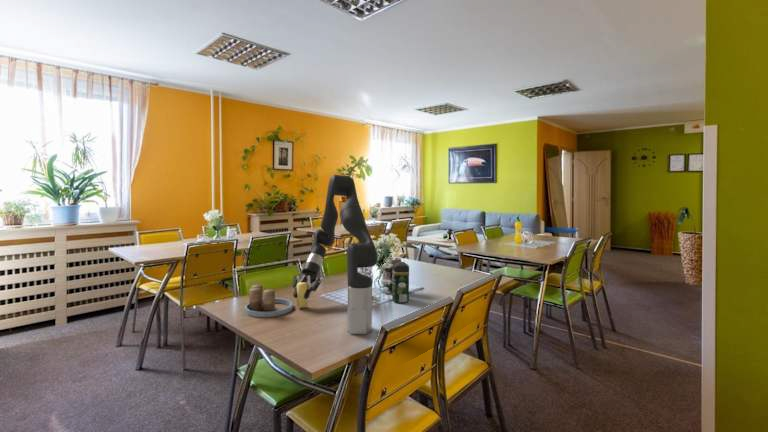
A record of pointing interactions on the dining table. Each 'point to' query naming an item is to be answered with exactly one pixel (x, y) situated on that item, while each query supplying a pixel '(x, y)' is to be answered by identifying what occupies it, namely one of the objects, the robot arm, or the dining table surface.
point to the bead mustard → (302, 294)
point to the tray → (270, 313)
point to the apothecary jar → (388, 274)
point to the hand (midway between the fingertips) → (300, 297)
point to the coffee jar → (400, 282)
